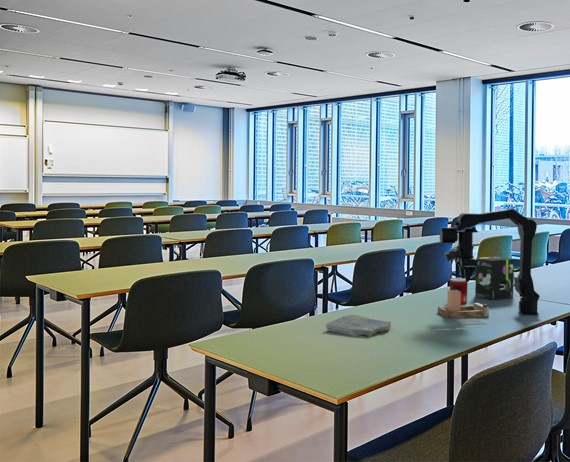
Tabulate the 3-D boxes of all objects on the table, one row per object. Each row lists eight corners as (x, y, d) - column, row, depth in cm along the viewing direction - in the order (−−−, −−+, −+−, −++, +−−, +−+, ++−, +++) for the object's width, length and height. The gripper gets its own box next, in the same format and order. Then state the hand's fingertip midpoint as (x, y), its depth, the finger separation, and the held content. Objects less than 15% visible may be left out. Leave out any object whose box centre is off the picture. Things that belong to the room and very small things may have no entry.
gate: (478, 311, 254) (478, 300, 253) (488, 316, 244) (489, 305, 244) (473, 311, 253) (473, 300, 253) (484, 316, 244) (484, 305, 244)
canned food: (465, 301, 277) (465, 277, 276) (468, 305, 269) (469, 280, 268) (448, 301, 278) (448, 277, 277) (451, 304, 270) (451, 280, 269)
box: (491, 300, 278) (492, 260, 277) (474, 296, 289) (475, 257, 287) (514, 297, 284) (515, 258, 282) (496, 293, 295) (497, 255, 293)
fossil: (374, 342, 213) (394, 329, 227) (373, 330, 213) (394, 317, 226) (325, 336, 225) (348, 323, 239) (325, 324, 224) (347, 312, 238)
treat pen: (464, 306, 265) (464, 300, 265) (488, 318, 244) (488, 310, 243) (427, 308, 263) (427, 301, 263) (448, 319, 241) (448, 312, 241)
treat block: (456, 313, 249) (456, 290, 249) (460, 315, 245) (460, 291, 245) (447, 314, 249) (447, 290, 248) (451, 316, 245) (451, 292, 244)
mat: (474, 319, 242) (474, 317, 242) (486, 325, 232) (486, 323, 232) (451, 320, 240) (451, 318, 240) (462, 326, 230) (462, 324, 230)
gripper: (442, 241, 261) (442, 276, 262) (449, 245, 242) (449, 284, 244) (468, 240, 260) (468, 276, 261) (477, 245, 241) (477, 284, 243)
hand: (465, 280), depth 252 cm, fingers open, 9 cm apart
